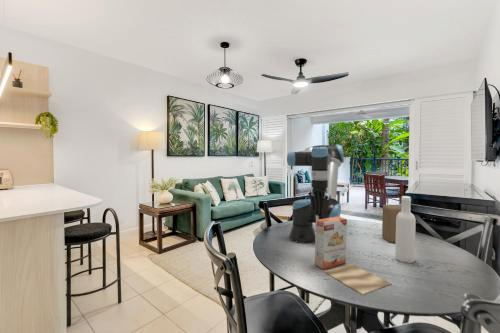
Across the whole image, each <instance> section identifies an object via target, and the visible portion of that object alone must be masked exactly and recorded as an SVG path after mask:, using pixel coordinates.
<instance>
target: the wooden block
mask: <svg viewBox="0 0 500 333" xmlns="http://www.w3.org/2000/svg"><path fill="white" fill-rule="evenodd" d="M401 209H402V205H401V204H383V205H382V220H381V222H382V225H381V226H382V228H381V230H382V232H381V237H382V239H384V240H385V241H387V242H388V243H392V244H393V243H394V244H396V217H397V215H398V213H399V212H401Z"/></svg>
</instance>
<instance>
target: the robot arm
mask: <svg viewBox="0 0 500 333" xmlns="http://www.w3.org/2000/svg"><path fill="white" fill-rule="evenodd" d="M344 158H345V157H344V149H343V146H342V145H341V144H329V145H328V144H327V145H326V144H325V145H324V144H323V145H321V144H317V145H314V146H309V147H306V148H305V149H304V150H300V151H289V152H288V153H287V155H286V163H287V165H288V166H291V167H311V177H310V178H311V181H310V182H311V183H310V184H311V188H312V190H311V192H308V195H309V198H306V199H305V198H303V199H298V200H294V201H293V202H292V209H291V211H292V227H291V230H290V233H289V240H291V239H292V240H293V241H292V240H291V241H292V242H295V241H297V242H296V243H299V242H311V243H314V242H315V233H316V231H315V230H314V224H316V220H318V219H324V218H331V217H337V216H338V217H341V212H342V206H341V204H340V203H339V201H338V200H337V192H338V178H339V176H338V175H339V168H340V167H341V166H342V164H343V163H345V159H344ZM313 241H314V242H313Z"/></svg>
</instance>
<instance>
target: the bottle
mask: <svg viewBox="0 0 500 333" xmlns="http://www.w3.org/2000/svg"><path fill="white" fill-rule="evenodd" d="M400 200H401V206H402V209H401V212H399V213H398V215H397V217H396V243H395V247H394V248H395V251H394V252H395V253H394V256H395V260H398V261H399V262H402V263H406V264H409V263H410V264H411V263H412V264H413V263H414V262H415V261H416V260H415V259H416V222H417V220H416V217H415V215H414V214H413V213H412V212H411V210H412V208H411V204H412V203H411V202H412V198H411V196H407V195H402V196H401V199H400Z"/></svg>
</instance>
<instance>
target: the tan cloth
mask: <svg viewBox="0 0 500 333" xmlns="http://www.w3.org/2000/svg"><path fill="white" fill-rule="evenodd" d="M323 273H325V274H327V275H328V276H330V277H331V278H333V279H335V280H337V281H338V282H340V283H342V284H343V285H345V286H347V287H348V288H350V289H352V290H353V291H355V292H357V293H358V294H360V295H362V296H364V295H367V294H369V293H372V292H375V291H377V290H380V289H383V288H386V287H388V286H392V284H393V283H391V282H390V281H388V280H387V279H386V280H385V279H383V278H382V277H379V276H377V275H375V274H373V273H371V272H369V271H368V270H366V269H363V268H361V267H358V266H356V265H355V264H353V263H349V264H345V265H343V266H339V267H338V266H337V267H335V268H331V269H329V270H328V269H326V270H325V271H324V272H323Z"/></svg>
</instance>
